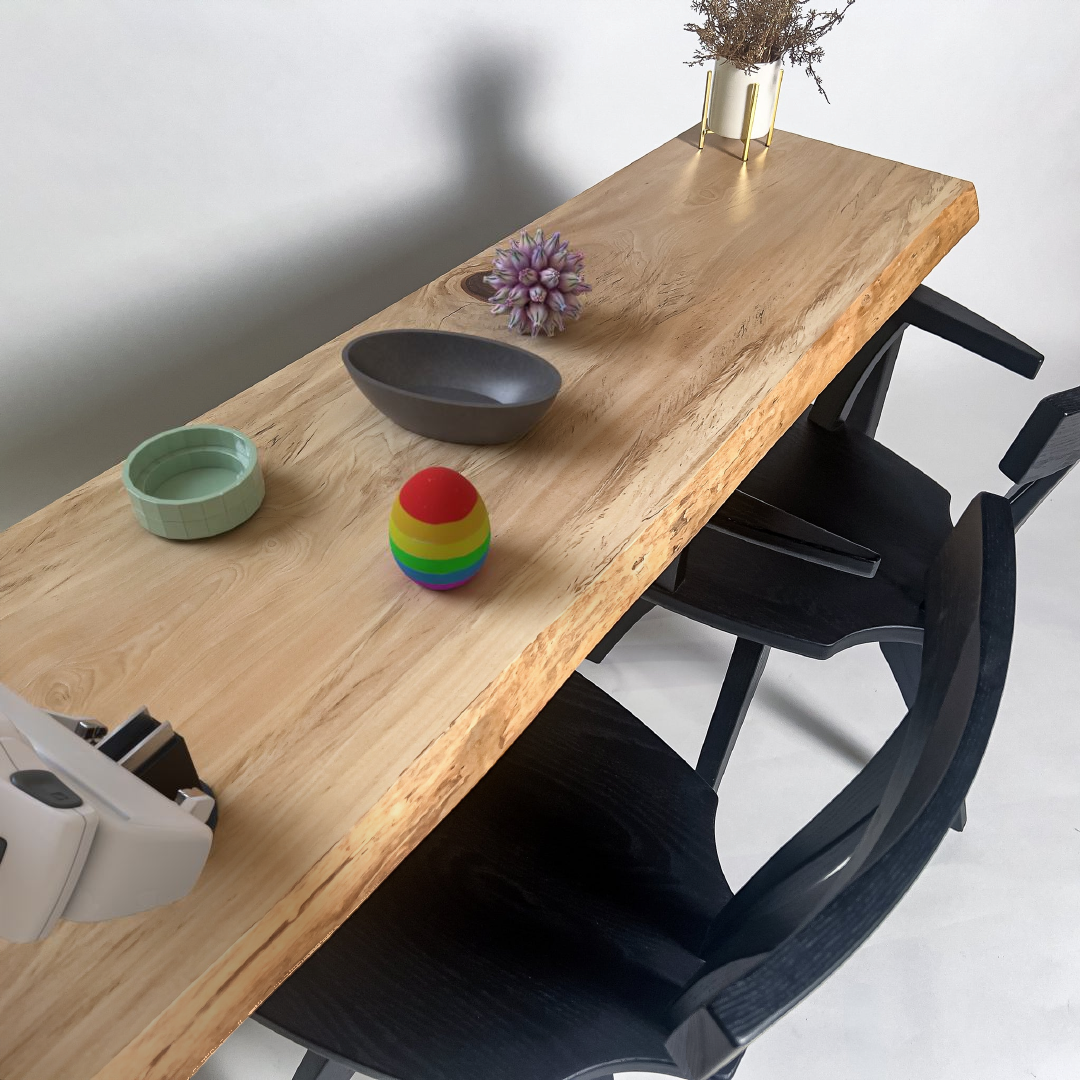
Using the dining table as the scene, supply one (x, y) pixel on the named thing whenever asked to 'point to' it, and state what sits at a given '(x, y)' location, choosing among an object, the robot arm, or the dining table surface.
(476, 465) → the dining table surface
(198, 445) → the green bowl
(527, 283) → the flower
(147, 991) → the dining table surface
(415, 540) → the decorative egg
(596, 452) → the dining table surface
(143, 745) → the clip
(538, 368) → the bowl
